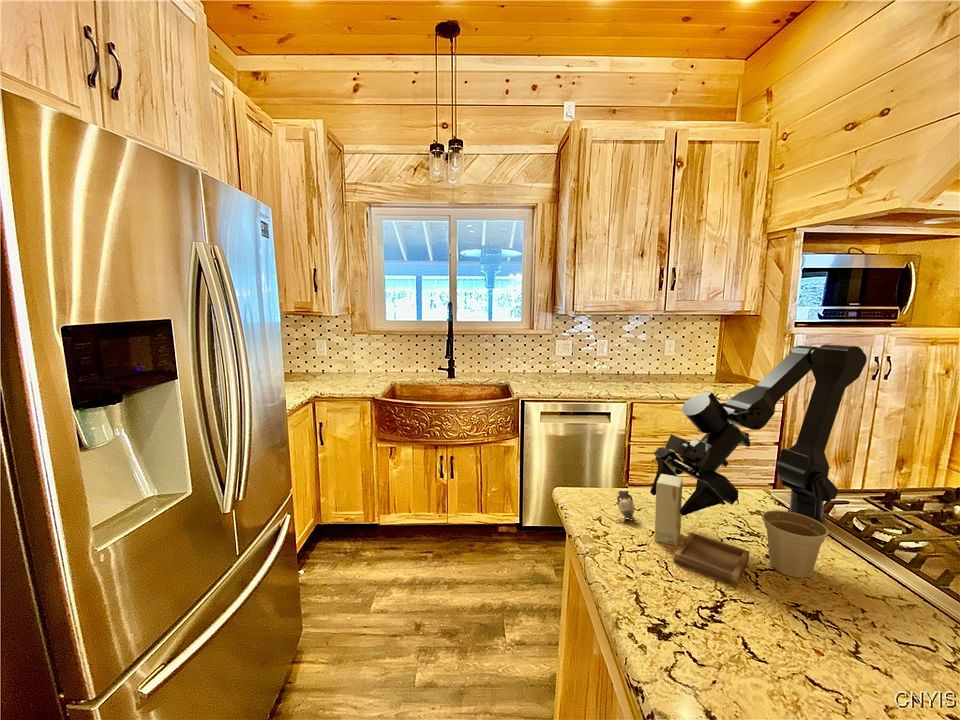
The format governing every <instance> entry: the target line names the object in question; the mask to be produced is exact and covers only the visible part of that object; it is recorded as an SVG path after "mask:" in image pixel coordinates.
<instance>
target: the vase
mask: <svg viewBox="0 0 960 720" xmlns="http://www.w3.org/2000/svg"><path fill="white" fill-rule="evenodd" d="M617 494H618V495H617V496H616V501H617V505H618V506H617V507H618V510H619V512H620V513H621V514H622V515H623V516H624V517H623V519H622V518H619V519H618V518H617V519H615V522H616V521H617V522H619V521H621V522H620V523H622V521H623V522H625V520H624V519H626V518H629V519H632V520H631V521H633V520H635V521H633V523H634V524H635V523H637V522H638V523H640V521H639V520H638V518H636V517H635V516H633V515H634V513H635V509H636V508H635V504H634V499H633V496H634V494H633V493H632V494H633V496H632V495H631V494H629V490H624V491H623V490H619V491H617ZM636 521H637V522H636Z"/></svg>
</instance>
